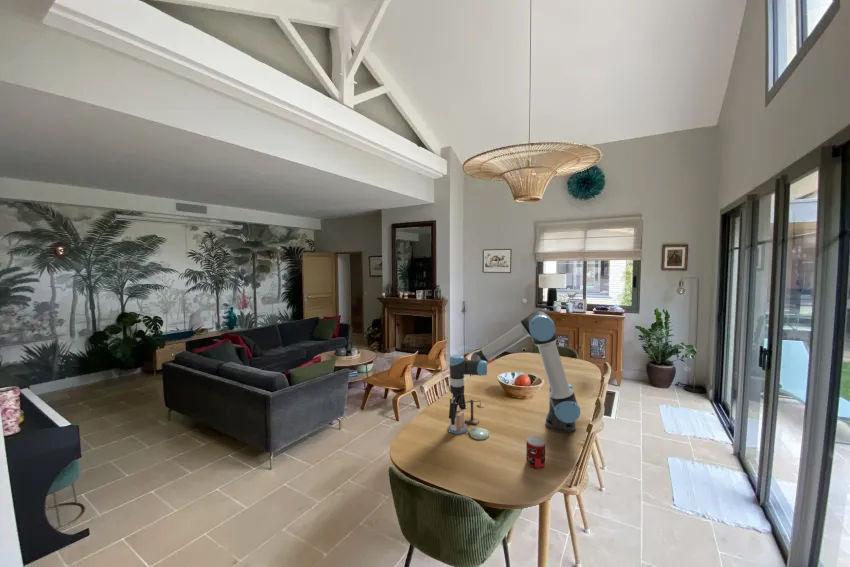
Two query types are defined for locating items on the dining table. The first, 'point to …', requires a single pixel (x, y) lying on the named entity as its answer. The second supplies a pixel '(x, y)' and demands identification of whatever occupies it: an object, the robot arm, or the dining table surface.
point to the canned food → (535, 452)
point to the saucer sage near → (479, 433)
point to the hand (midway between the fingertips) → (457, 425)
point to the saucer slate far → (458, 430)
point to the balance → (471, 420)
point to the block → (459, 420)
